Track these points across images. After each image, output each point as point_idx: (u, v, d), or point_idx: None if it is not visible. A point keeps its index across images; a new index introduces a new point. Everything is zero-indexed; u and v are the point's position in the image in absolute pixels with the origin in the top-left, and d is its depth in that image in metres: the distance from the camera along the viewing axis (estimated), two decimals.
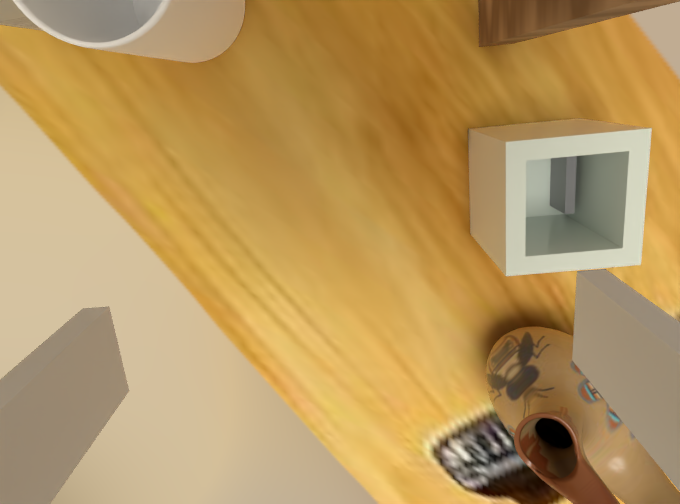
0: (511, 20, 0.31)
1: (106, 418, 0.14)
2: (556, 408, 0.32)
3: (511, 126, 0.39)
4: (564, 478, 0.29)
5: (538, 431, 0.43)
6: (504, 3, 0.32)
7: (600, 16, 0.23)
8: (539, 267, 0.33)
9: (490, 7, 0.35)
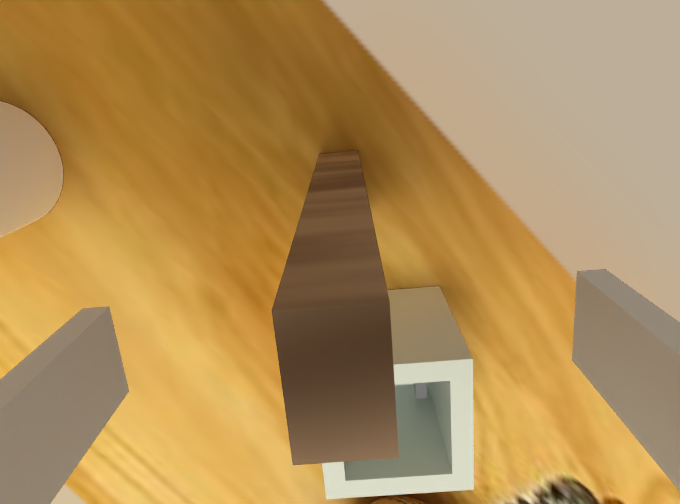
0: None
1: (106, 418, 0.14)
2: None
3: None
4: None
5: None
6: None
7: None
8: (362, 491, 0.30)
9: None
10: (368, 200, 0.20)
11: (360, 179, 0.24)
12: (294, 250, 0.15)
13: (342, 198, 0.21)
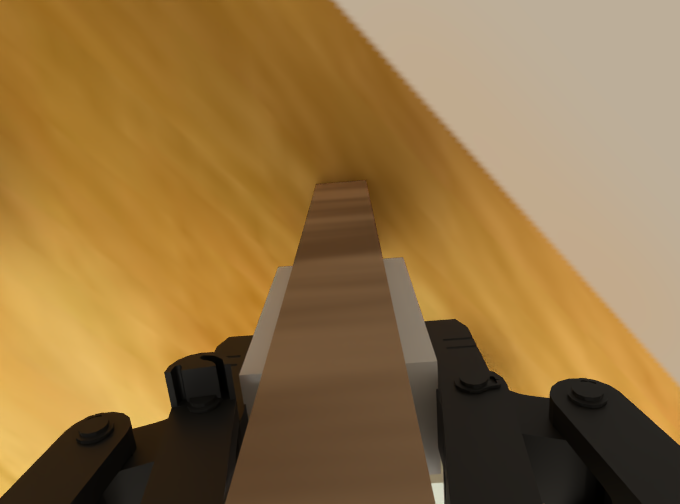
0: None
1: None
2: None
3: None
4: None
5: None
6: None
7: None
8: None
9: None
10: (388, 285, 0.13)
11: (372, 235, 0.17)
12: (251, 441, 0.07)
13: (346, 278, 0.13)
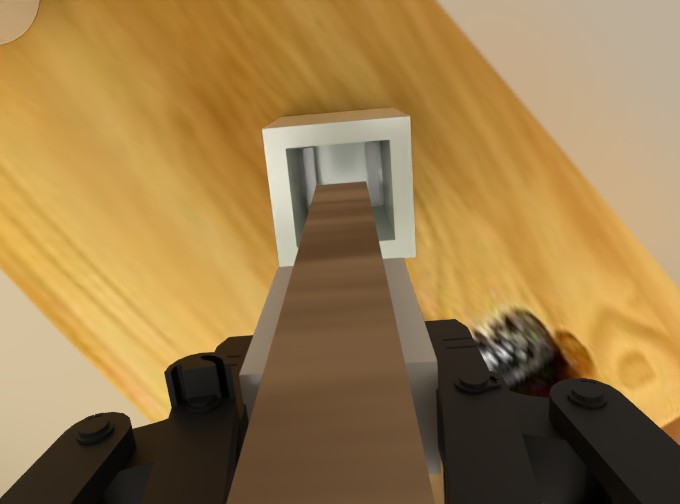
0: None
1: None
2: None
3: (318, 114, 0.38)
4: None
5: None
6: None
7: None
8: None
9: None
10: (388, 288, 0.13)
11: (372, 237, 0.17)
12: (251, 446, 0.07)
13: (347, 280, 0.13)
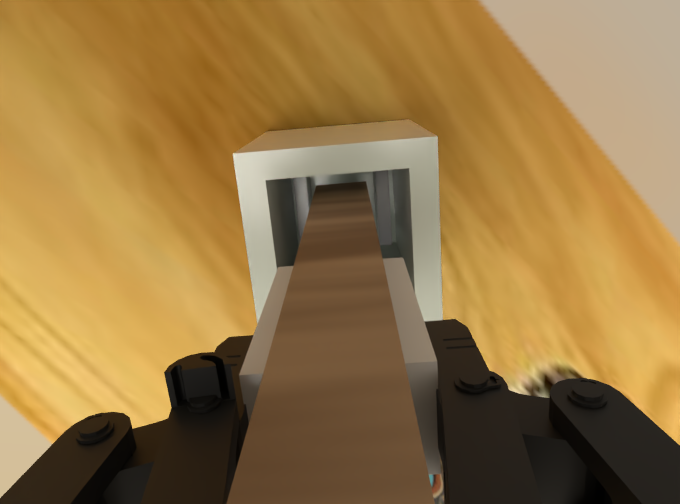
0: None
1: None
2: None
3: (313, 129, 0.30)
4: None
5: None
6: None
7: None
8: None
9: None
10: (388, 288, 0.13)
11: (372, 237, 0.17)
12: (252, 445, 0.07)
13: (347, 280, 0.13)
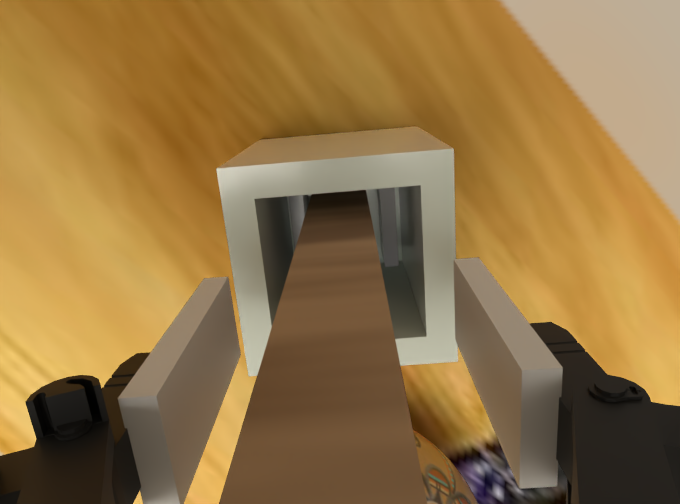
0: None
1: (230, 376, 0.16)
2: None
3: (311, 137, 0.27)
4: None
5: None
6: None
7: None
8: None
9: None
10: (380, 264, 0.14)
11: (367, 223, 0.18)
12: (263, 380, 0.09)
13: (343, 258, 0.15)
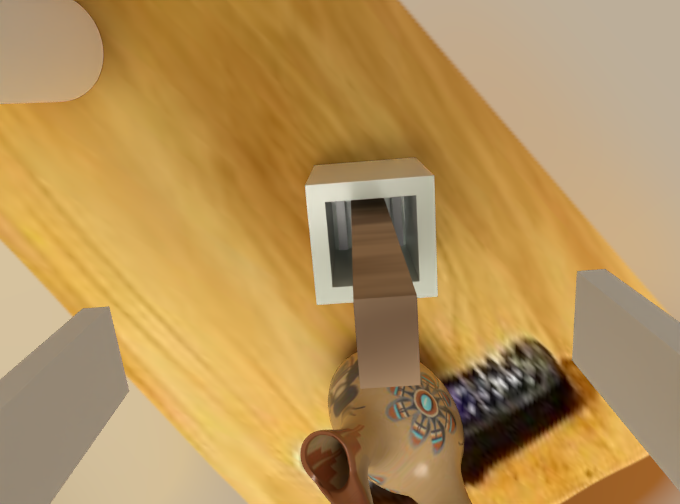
0: None
1: (106, 418, 0.14)
2: (353, 426, 0.35)
3: (348, 164, 0.43)
4: (339, 490, 0.32)
5: None
6: None
7: None
8: (346, 297, 0.37)
9: None
10: (395, 232, 0.30)
11: (387, 215, 0.34)
12: (355, 266, 0.25)
13: (377, 231, 0.31)
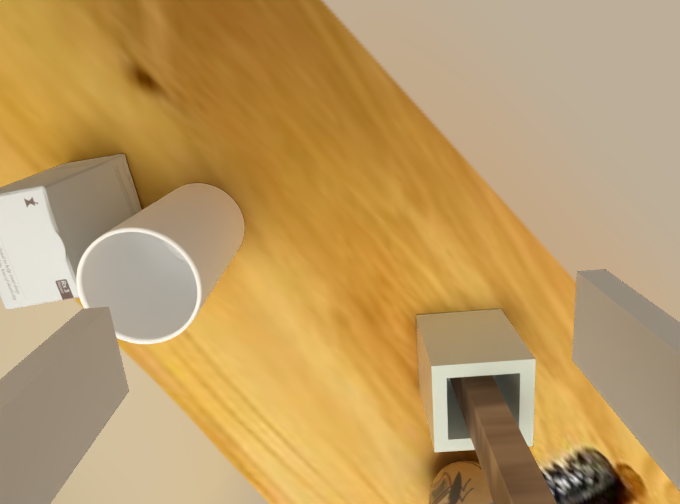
0: (464, 410, 0.46)
1: (106, 418, 0.14)
2: None
3: (447, 319, 0.51)
4: None
5: None
6: (460, 390, 0.47)
7: None
8: (458, 447, 0.45)
9: None
10: None
11: (498, 391, 0.43)
12: (506, 481, 0.33)
13: (500, 419, 0.39)
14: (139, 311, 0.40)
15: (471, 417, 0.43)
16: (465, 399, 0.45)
